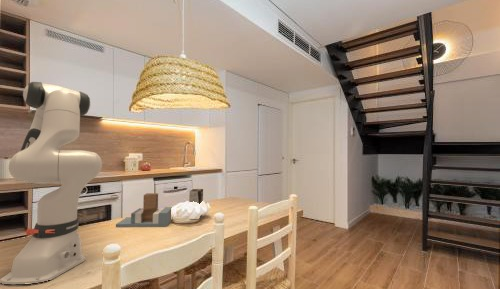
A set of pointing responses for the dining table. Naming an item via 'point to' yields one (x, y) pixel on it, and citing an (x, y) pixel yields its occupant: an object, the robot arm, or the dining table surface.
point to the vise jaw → (137, 216)
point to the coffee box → (196, 195)
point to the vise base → (159, 220)
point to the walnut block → (150, 206)
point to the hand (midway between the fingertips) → (90, 175)
